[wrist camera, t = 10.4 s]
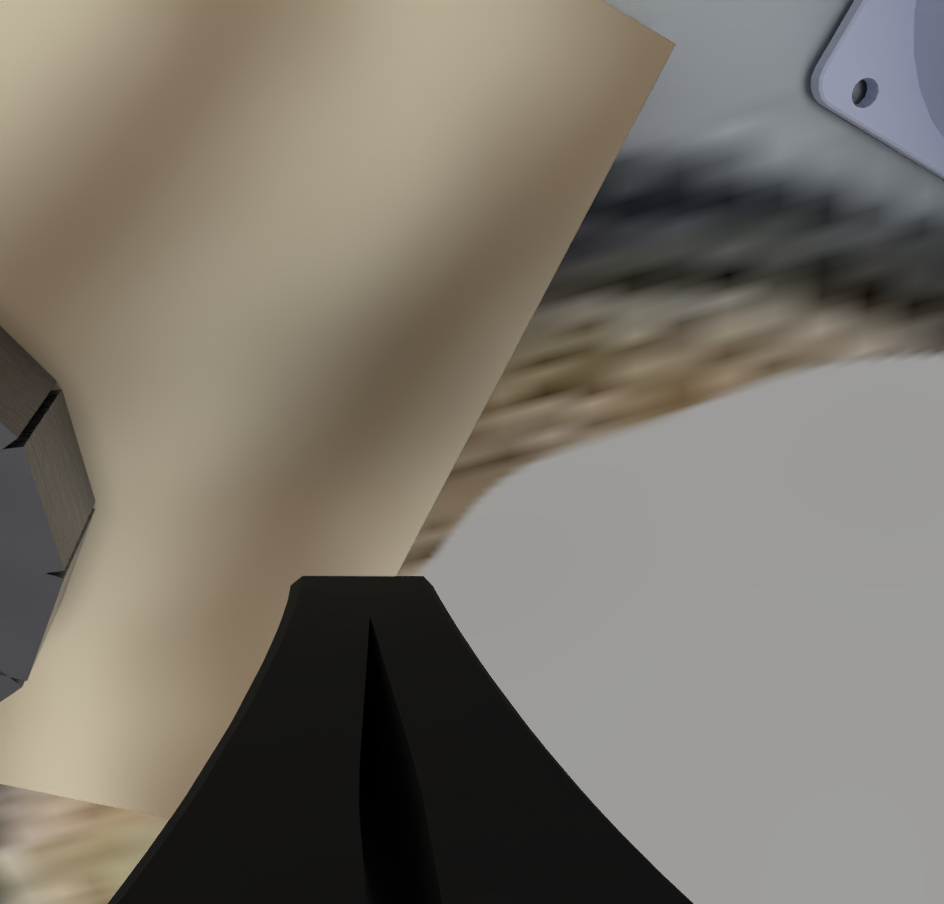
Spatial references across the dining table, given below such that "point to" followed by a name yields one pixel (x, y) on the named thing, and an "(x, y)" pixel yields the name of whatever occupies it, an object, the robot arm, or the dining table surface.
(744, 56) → the dining table surface
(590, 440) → the dining table surface
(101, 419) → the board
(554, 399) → the dining table surface
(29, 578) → the grey faceted ring
